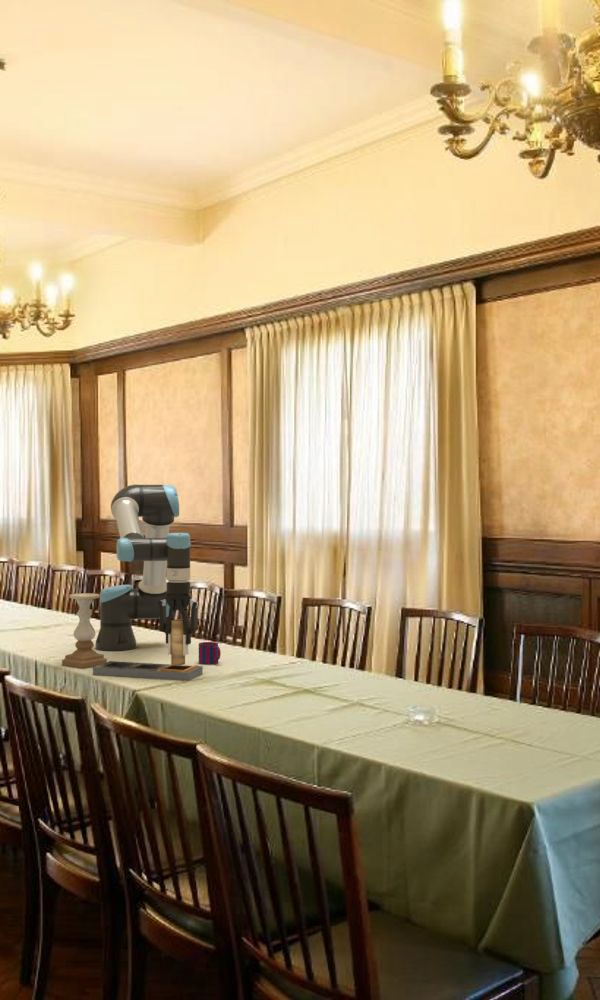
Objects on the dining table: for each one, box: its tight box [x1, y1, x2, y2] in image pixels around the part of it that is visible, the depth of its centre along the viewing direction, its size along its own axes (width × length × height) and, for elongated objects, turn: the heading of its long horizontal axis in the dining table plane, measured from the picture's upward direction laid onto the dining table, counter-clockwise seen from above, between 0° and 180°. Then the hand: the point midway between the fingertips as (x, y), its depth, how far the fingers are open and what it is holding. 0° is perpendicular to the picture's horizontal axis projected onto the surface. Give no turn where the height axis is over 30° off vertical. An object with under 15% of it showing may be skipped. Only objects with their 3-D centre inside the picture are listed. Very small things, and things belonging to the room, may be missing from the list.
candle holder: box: [61, 592, 108, 669], centre depth 343 cm, size 11×11×24 cm
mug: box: [198, 641, 222, 666], centre depth 346 cm, size 7×10×7 cm
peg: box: [170, 618, 186, 665], centre depth 322 cm, size 4×4×14 cm
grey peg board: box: [92, 660, 204, 682], centre depth 326 cm, size 12×33×3 cm, turn 74°
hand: (178, 654), depth 323 cm, fingers closed on peg, 4 cm apart
